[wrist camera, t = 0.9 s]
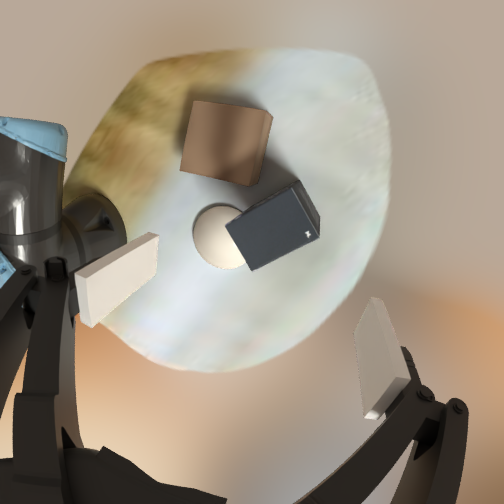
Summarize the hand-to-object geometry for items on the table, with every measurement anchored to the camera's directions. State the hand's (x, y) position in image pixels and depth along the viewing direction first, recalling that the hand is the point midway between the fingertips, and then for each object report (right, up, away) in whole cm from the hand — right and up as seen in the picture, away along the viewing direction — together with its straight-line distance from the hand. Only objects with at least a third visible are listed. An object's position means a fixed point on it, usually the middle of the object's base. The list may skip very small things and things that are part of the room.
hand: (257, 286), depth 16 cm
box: (+4, +7, +20) cm, 22 cm away
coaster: (-4, +4, +23) cm, 24 cm away
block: (-3, +16, +19) cm, 25 cm away
